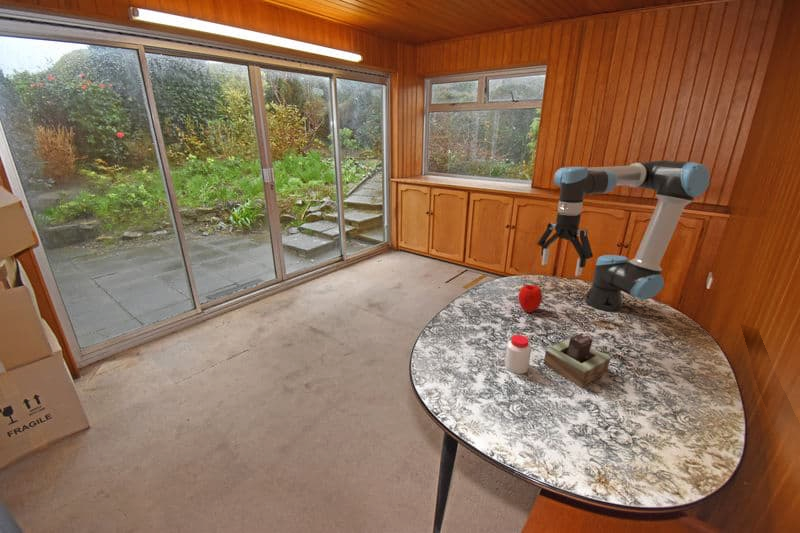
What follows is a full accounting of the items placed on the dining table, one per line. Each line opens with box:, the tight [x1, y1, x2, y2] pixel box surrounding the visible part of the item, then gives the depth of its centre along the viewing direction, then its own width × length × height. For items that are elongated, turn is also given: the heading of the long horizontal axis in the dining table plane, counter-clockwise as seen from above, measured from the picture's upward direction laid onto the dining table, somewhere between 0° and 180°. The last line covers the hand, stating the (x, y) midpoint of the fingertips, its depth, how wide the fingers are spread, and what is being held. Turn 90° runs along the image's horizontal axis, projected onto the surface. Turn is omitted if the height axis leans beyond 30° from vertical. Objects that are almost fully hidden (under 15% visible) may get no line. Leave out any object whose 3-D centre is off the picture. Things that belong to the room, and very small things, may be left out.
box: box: [567, 332, 593, 363], centre depth 116 cm, size 6×4×12 cm
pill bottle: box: [504, 334, 532, 375], centre depth 117 cm, size 8×8×11 cm
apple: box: [517, 284, 543, 313], centre depth 154 cm, size 10×10×12 cm
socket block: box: [543, 337, 611, 388], centre depth 117 cm, size 14×14×6 cm
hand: (560, 269), depth 129 cm, fingers open, 13 cm apart
